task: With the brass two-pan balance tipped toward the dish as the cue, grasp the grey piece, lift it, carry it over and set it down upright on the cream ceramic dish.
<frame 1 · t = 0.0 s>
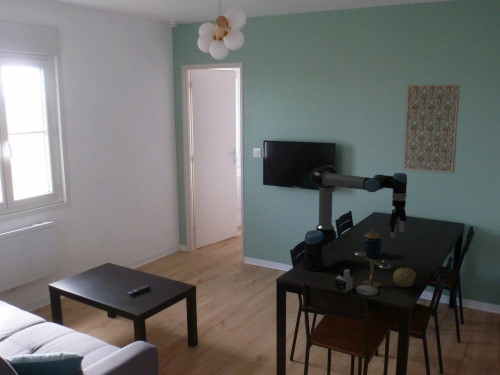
hand: (397, 234, 277), 28 cm above the table, fingers open, 13 cm apart
balance: (371, 284, 274), on the table
dish: (366, 291, 265), on the table
canister: (371, 255, 324), on the table
olive brown dome: (403, 285, 273), on the table
grey piece: (343, 289, 269), on the table
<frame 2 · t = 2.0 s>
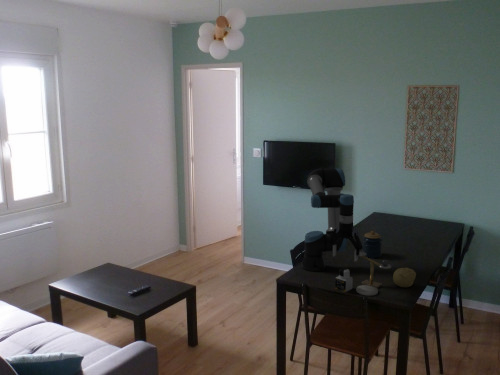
hand: (345, 258, 265), 19 cm above the table, fingers open, 13 cm apart
nothing on the table moved.
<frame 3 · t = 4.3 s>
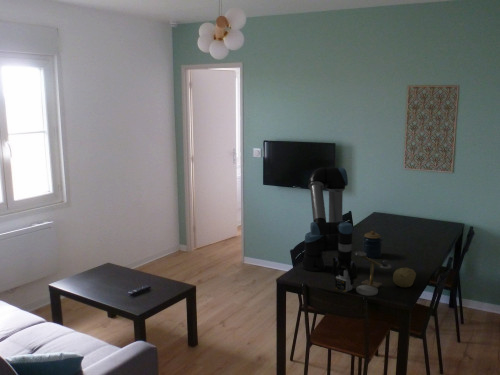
hand: (343, 287, 269), 1 cm above the table, fingers closed on grey piece, 7 cm apart
grey piece: (343, 289, 269), on the table, touching gripper
everything else where it was.
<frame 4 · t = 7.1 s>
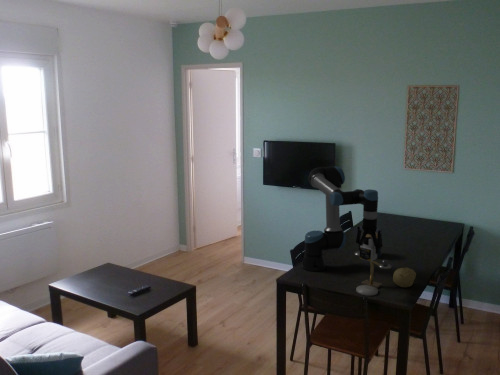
hand: (368, 257, 261), 20 cm above the table, fingers closed on grey piece, 7 cm apart
grey piece: (368, 258, 261), point 19 cm above the table, touching gripper
everything else where it was.
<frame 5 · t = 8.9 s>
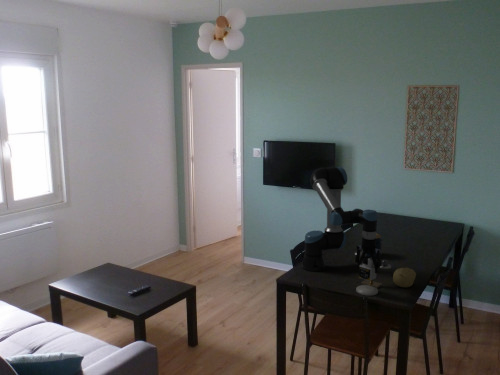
hand: (367, 276, 263), 9 cm above the table, fingers closed on grey piece, 7 cm apart
grey piece: (367, 278, 263), point 8 cm above the table, touching gripper
everything else where it was.
when the fingers open (4 cm above the table, at t = 10.4 s): grey piece drops 2 cm, resting on dish.
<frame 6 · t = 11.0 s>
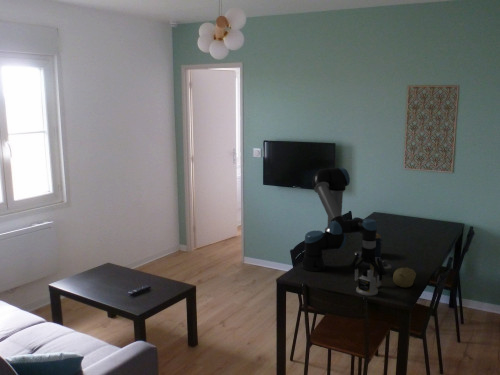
hand: (367, 282, 264), 5 cm above the table, fingers open, 13 cm apart
grey piece: (366, 289, 265), point 1 cm above the table, touching dish
everything else where it was.
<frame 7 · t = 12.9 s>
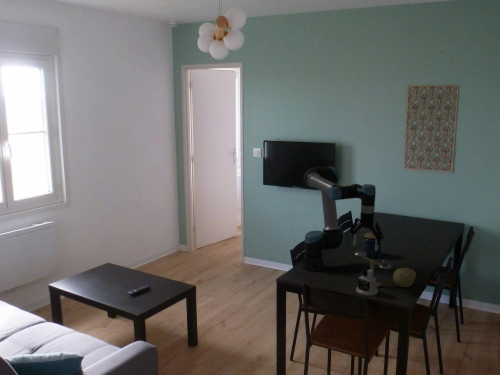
hand: (365, 247, 268), 24 cm above the table, fingers open, 13 cm apart
nothing on the table moved.
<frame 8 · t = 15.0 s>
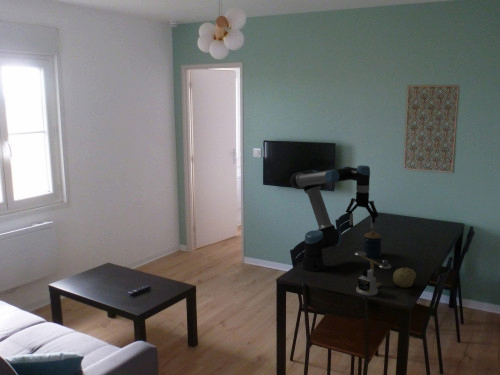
hand: (361, 226, 282), 32 cm above the table, fingers open, 13 cm apart
nothing on the table moved.
at the end: grey piece 0.1 cm from the dish (horizontally); grey piece tilted 0°; the gripper is holding nothing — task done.
